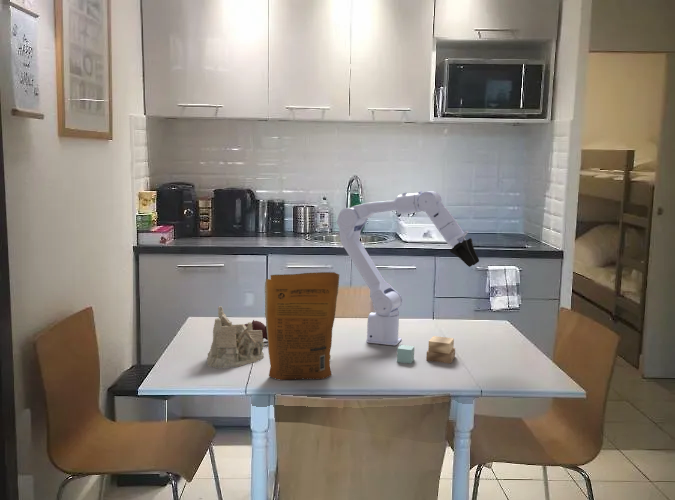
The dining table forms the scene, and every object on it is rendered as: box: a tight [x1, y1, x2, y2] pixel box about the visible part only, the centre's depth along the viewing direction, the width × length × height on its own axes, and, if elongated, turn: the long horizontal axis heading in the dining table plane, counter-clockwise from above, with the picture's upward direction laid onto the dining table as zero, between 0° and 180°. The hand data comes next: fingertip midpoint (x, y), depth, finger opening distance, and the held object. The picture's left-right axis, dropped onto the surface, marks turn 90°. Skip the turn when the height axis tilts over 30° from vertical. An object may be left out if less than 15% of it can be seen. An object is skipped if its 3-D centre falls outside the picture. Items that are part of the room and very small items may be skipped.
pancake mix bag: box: [264, 271, 340, 381], centre depth 176 cm, size 7×19×28 cm, turn 97°
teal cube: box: [396, 344, 415, 364], centre depth 195 cm, size 4×4×4 cm
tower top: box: [427, 335, 455, 354], centre depth 197 cm, size 6×6×3 cm
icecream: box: [243, 319, 268, 341], centre depth 210 cm, size 7×8×15 cm
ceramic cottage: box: [206, 305, 265, 369], centre depth 192 cm, size 16×16×15 cm
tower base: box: [425, 347, 456, 364], centre depth 197 cm, size 7×7×3 cm
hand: (474, 264), depth 199 cm, fingers open, 7 cm apart
